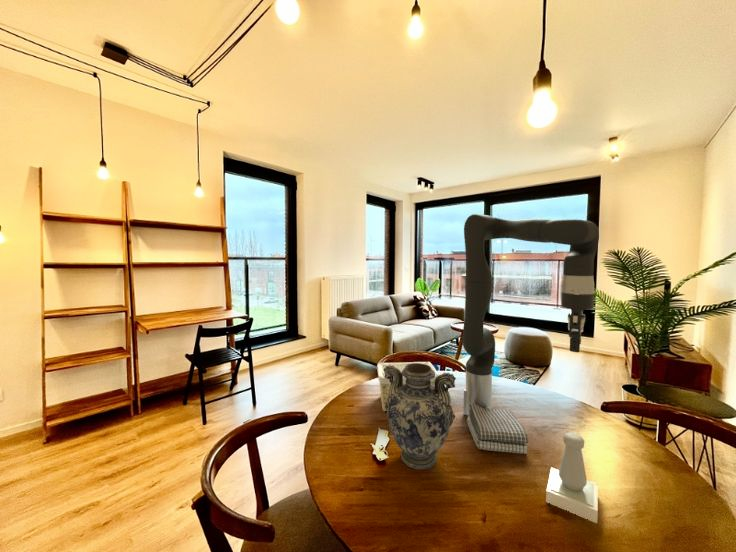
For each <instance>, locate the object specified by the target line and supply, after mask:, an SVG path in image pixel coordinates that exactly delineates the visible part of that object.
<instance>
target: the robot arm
mask: <svg viewBox="0 0 736 552" xmlns="http://www.w3.org/2000/svg"><path fill="white" fill-rule="evenodd" d="M463 237H464V238H463V239H464V250H465V287H464V288H465V291H464V294H465V301H464V319H463V320H464V321H463V330H462V336H461V338H462V339H461V343H462V347H463V349H464V351H465V352H466V353H467V354H468V355H469V356H470V357H469V358H468V360H467V361H466V363H465V388H464V390H463V415H464V416H466V417H469V416H470V412H469V410H470V406H469V405H470V404H471V403H473V404H476V405H478V406H480V407H482V408H486V409H492V393H493V392H492V391H493V389H492V386H493V385H492V381H493V379H492V378H493V377H492V376H493V368H494V364H495V358H496V357H495V355H496V339H495V335H494V334H493V332H492V331H491V330H490V329H489V328H486V327H484V320H485V315H486V313H487V310H488V307H489V305H490V302H491V299H492V294H493V275H492V272H491V269H490V266H489V264H488V261H487V259H486V256H485V241H489V240H496V239H513V240H519V241H525V242H530V243H531V242H533V243H545V244H546V243H548V244H550V243H552V244H559V245H568V246H569V251H568V254H567V255H566V256H565V257H564V259H563V265H562V266H563V267H562V268H563V271H562V272H563V273H562V274H563V276H562V281H561V298H560V299H561V300H560V301H561V302H560V305H561V307H562V308H564V309H568V310H571V311H570V313H569V312H568V314H567V321H568V324H567V329H568V332H569V333H568V337H569V351H570V352H573V353H579V352H580V349H581V348H580V347H581V344H582V333H583V332H584V326H585V323H586V314H583V312H584V311H589V310H593V309H594V300H595V281H594V271H595V268H594V267H595V256H596V253H597V249H598V245H599V239H600V230H599V227H598V225H597V224H596V223H594V221H590V220H584V219H578V218H577V219H546V218H543V219H542V218H526V219H513V220H512V219H503V218H498V217H494V216H491V215H487V214H480V213H475V214H474V213H473V214H471V215H469V216H468V217H467V218H466V220H465V222H464V225H463Z"/></svg>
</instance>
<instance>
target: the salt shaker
mask: <svg viewBox="0 0 736 552" xmlns="http://www.w3.org/2000/svg"><path fill="white" fill-rule="evenodd" d="M562 439H563V441H562V442H563V443H564V444H565V446H564V450H563V454H562V457H561V460H560V466H559V469H558V470H559V476H560V478H561V480H562V483H563V485H564V486H565V487H566V488H568V489H569V490H571V491H575V492H580V491H581V490H582V489H583V488H584V487H585V486H586V483H587V480H588V479H587V475H586V473H587V472H586V467H585V463H584V457H583V451H582V449H584V447H585V439H584V438H583V437H582V436H581V435H579V434H578V433H574V432H571V431H569V432H568V431H567V432H565V433H564V434H563V436H562Z"/></svg>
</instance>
